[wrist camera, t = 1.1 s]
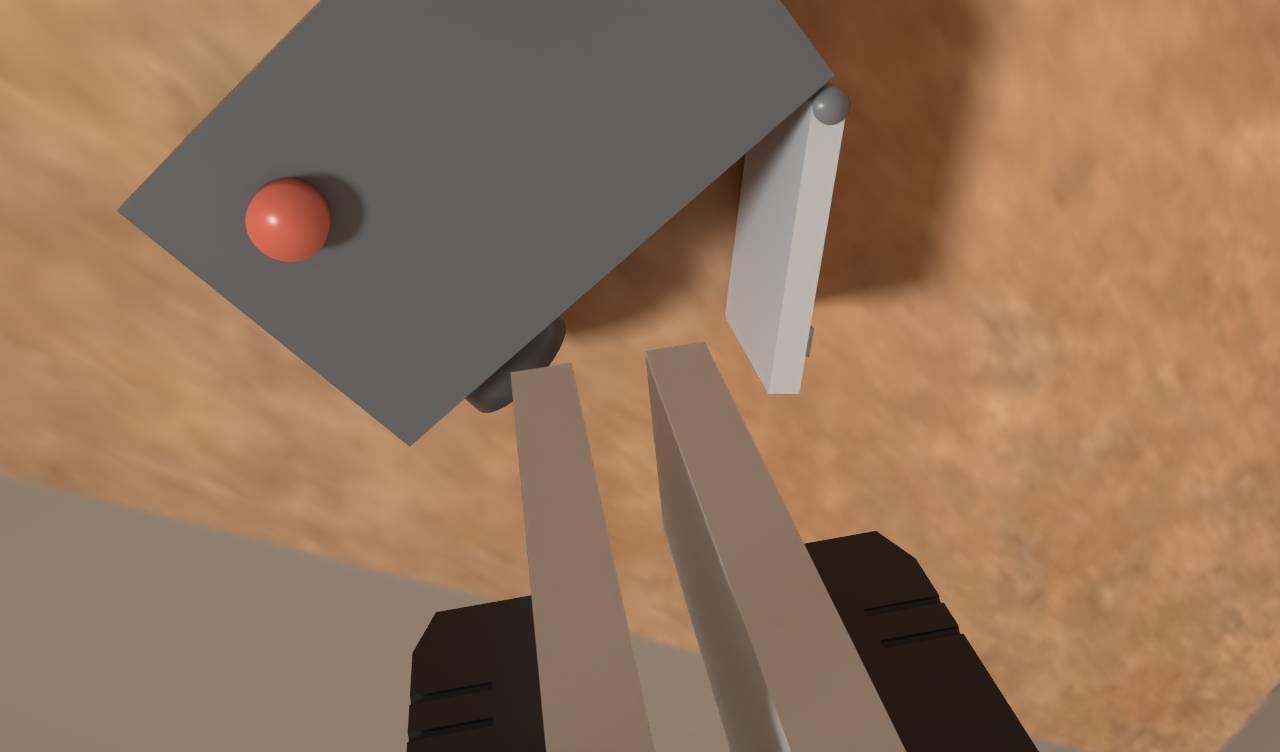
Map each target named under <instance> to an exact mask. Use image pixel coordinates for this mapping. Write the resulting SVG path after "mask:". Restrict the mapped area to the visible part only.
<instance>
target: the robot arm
mask: <svg viewBox="0 0 1280 752" xmlns="http://www.w3.org/2000/svg"><path fill="white" fill-rule="evenodd" d="M645 355H646V365H647V375H648V384H649V394H650V403H651V413H652V423H653V432H654V442H655V451H656V461H657V471H658V480H659V490H660V499H661V509H662V519H663V528H664V531H665V535H666V538H667V542H668V545H669V548H670V552H671V555H672V558H673V562H674V565H675V568H676V572H677V575H678V579H679V582H680V585H681V589H682V592H683V595H684V599H685V602H686V605H687V609H688V612H689V616H690V619H691V622H692V626H693V629H694V632H695V636H696V639H697V642H698V646H699V649H700V653H701V656H702V659H703V662H704V666H705V669H706V672H707V676H708V679H709V683H710V686H711V689H712V693H713V696H714V700H715V703H716V706H717V710H718V713H719V716H720V720H721V723H722V726H723V730H724V733H725V737H726V740H727V743H728V747H729V750H730V752H1039V751H1038V750H1037V748H1036V746H1035V745H1034V743H1033V742H1032V740H1031V739H1030V737H1029V735H1028V734H1027V732H1026V731H1025V729H1024V728H1023V726H1022V725H1021V723H1020V721H1019V720H1018V718H1017V717H1016V715H1015V714H1014V712H1013V710H1012V709H1011V707H1010V706H1009V704H1008V703H1007V701H1006V699H1005V698H1004V696H1003V695H1002V693H1001V692H1000V690H999V689H998V687H997V685H996V684H995V682H994V681H993V679H992V678H991V676H990V674H989V673H988V671H987V670H986V668H985V667H984V665H983V663H982V662H981V660H980V659H979V657H978V656H977V654H976V652H975V651H974V649H973V648H972V646H971V645H970V643H969V642H968V640H967V638H966V637H965V635H964V634H960V632H959V627H958V624H957V623H956V621H955V620H954V618H953V616H952V615H951V613H950V612H949V610H948V609H947V607H946V605H945V604H944V603H941V602H940V599H939V595H938V593H937V591H936V590H935V588H934V587H933V585H932V584H931V582H930V580H929V579H928V577H927V576H926V574H925V573H924V571H923V569H922V568H921V566H920V565H919V563H918V562H917V560H916V559H915V558H914V557H912V556H911V555H910V554H908V553H907V552H905V551H904V550H903V549H901V548H900V547H898V546H897V545H895V544H894V543H893V542H891V541H890V540H888V539H887V538H885V537H884V536H883V535H881V534H880V533H878V532H877V531H873V532H868V533H862V534H856V535H851V536H845V537H839V538H834V539H828V540H822V541H817V542H811V543H805V544H804V543H803V541H802V539H801V537H800V535H799V533H798V531H797V529H796V527H795V525H794V522H793V520H792V518H791V516H790V514H789V512H788V510H787V508H786V506H785V504H784V502H783V500H782V498H781V496H780V494H779V492H778V490H777V488H776V486H775V484H774V482H773V480H772V478H771V476H770V474H769V472H768V470H767V468H766V466H765V464H764V462H763V459H762V457H761V455H760V453H759V451H758V449H757V447H756V445H755V443H754V441H753V439H752V437H751V435H750V433H749V431H748V429H747V427H746V425H745V423H744V421H743V419H742V417H741V415H740V413H739V411H738V409H737V407H736V405H735V403H734V401H733V399H732V396H731V394H730V392H729V390H728V388H727V386H726V384H725V382H724V380H723V378H722V376H721V374H720V372H719V370H718V368H717V366H716V364H715V362H714V360H713V358H712V356H711V354H710V352H709V350H708V348H707V346H706V344H705V342H701V343H695V344H689V345H682V346H676V347H669V348H663V349H657V350H650V351H645ZM510 373H511V384H512V394H513V405H514V416H515V426H516V437H517V447H518V458H519V469H520V479H521V490H522V500H523V511H524V522H525V532H526V543H527V554H528V564H529V575H530V585H531V596H525V597H519V598H514V599H508V600H503V601H497V602H491V603H486V604H480V605H474V606H469V607H463V608H458V609H452V610H446V611H441V612H436V613H435V615H434V617H433V618H432V620H431V622H430V624H429V625H428V627H427V629H426V631H425V632H424V634H423V636H422V637H421V639H420V641H419V643H418V644H417V646H416V648H415V650H414V651H413V654H412V673H411V688H410V689H411V690H410V699H411V705H410V706H409V722H408V736H409V742H407V752H655V750H654V745H653V741H652V736H651V732H650V727H649V722H648V718H647V713H646V708H645V703H644V699H643V695H642V690H641V685H640V680H639V676H638V671H637V666H636V661H635V657H634V652H633V647H632V643H631V638H630V633H629V629H628V624H627V619H626V615H625V610H624V605H623V601H622V596H621V591H620V587H619V582H618V577H617V573H616V568H615V563H614V559H613V554H612V549H611V545H610V540H609V535H608V531H607V526H606V521H605V517H604V512H603V507H602V503H601V498H600V493H599V489H598V484H597V479H596V475H595V470H594V465H593V461H592V456H591V451H590V447H589V442H588V437H587V433H586V428H585V423H584V419H583V414H582V409H581V405H580V400H579V395H578V391H577V386H576V381H575V377H574V372H573V367H572V363H567V364H561V365H555V366H548V367H542V368H535V369H529V370H523V371H516V372H510Z"/></svg>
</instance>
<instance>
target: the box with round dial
mask: <svg viewBox="0 0 1280 752" xmlns="http://www.w3.org/2000/svg"><path fill="white" fill-rule="evenodd" d="M834 76H835V74H834V73H833V71H832V70H831V69H830V67H829V66H828V65H827V63H826V62H825V61H824V59H823V58H822V56H821V55H820V54H819V52H818V51H817V50H816V48H815V47H814V46H813V44H812V43H811V41H810V40H809V39H808V37H807V36H806V35H805V33H804V32H803V31H802V29H801V28H800V26H799V25H798V24H797V22H796V21H795V20H794V18H793V17H792V16H791V14H790V13H789V11H788V10H787V9H786V7H785V6H784V5H783V3H782V2H781V1H780V0H320V1H319V2H318V3H317V4H316V5H315V6H314V7H313V8H312V9H311V10H310V11H309V13H308V14H307V15H306V16H305V17H304V18H303V19H302V20H301V21H300V22H299V23H298V24H297V25H296V26H295V27H294V28H293V29H292V30H291V31H290V32H289V33H288V34H287V35H286V36H285V37H284V38H283V39H282V40H281V41H280V42H279V43H278V44H277V45H276V46H275V47H274V48H273V49H272V50H271V51H270V52H269V53H268V54H267V55H266V56H265V57H264V58H263V59H262V60H261V61H260V62H259V63H258V65H257V66H256V67H255V68H254V69H253V70H252V71H251V72H250V73H249V74H248V75H247V76H246V77H245V78H244V79H243V80H242V81H241V82H240V83H239V84H238V85H237V86H236V87H235V88H234V89H233V90H232V91H231V92H230V93H229V94H228V95H227V96H226V97H225V98H224V99H223V100H222V101H221V102H220V103H219V104H218V105H217V106H216V107H215V108H214V109H213V110H212V111H211V112H210V113H209V114H208V115H207V117H206V118H205V119H204V120H203V121H202V122H201V123H200V124H199V125H198V126H197V127H196V128H195V129H194V130H193V131H192V132H191V133H190V134H189V135H188V136H187V137H186V138H185V139H184V140H183V141H182V142H181V143H180V144H179V145H178V146H177V147H176V148H175V149H174V151H173V152H172V153H171V154H170V155H169V156H168V157H167V158H166V159H165V160H164V161H163V162H162V163H161V164H160V165H159V166H158V167H157V168H156V170H155V171H154V172H153V173H152V174H151V175H150V176H149V177H148V178H147V179H146V180H145V181H144V182H143V183H142V184H141V185H140V186H139V188H138V189H137V190H136V191H135V192H134V193H133V194H132V195H131V196H130V197H129V198H128V199H127V200H126V201H125V202H124V203H123V204H122V206H121V207H120V208H119V209H118V210H117V211H118V212H119V213H120V214H121V215H123V216H124V217H125V218H126V219H128V220H129V221H130V222H131V223H132V224H134V225H135V226H136V227H137V228H139V229H140V230H141V231H142V232H144V233H145V234H146V235H147V236H149V237H150V238H151V239H152V240H154V241H155V242H156V243H157V244H159V245H160V246H161V247H162V248H164V249H165V250H166V251H167V252H169V253H170V254H171V255H172V256H174V257H175V258H176V259H177V260H178V261H180V262H181V263H182V264H183V265H185V266H186V267H187V268H188V269H190V270H191V271H192V272H193V273H195V274H196V275H197V276H198V277H200V278H201V279H202V280H203V281H205V282H206V283H207V284H208V285H210V286H211V287H212V288H213V289H215V290H216V291H217V292H218V293H219V294H221V295H222V296H223V297H224V298H226V299H227V300H228V301H229V302H231V303H232V304H233V305H234V306H236V307H237V308H238V309H239V310H241V311H242V312H243V313H244V314H246V315H247V316H248V317H249V318H251V319H252V320H253V321H254V322H256V323H257V324H258V325H259V326H261V327H262V328H263V329H264V330H265V331H267V332H268V333H269V334H270V335H272V336H273V337H274V338H275V339H277V340H278V341H279V342H280V343H282V344H283V345H284V346H285V347H287V348H288V349H289V350H290V351H292V352H293V353H294V354H295V355H297V356H298V357H299V358H300V359H302V360H303V361H304V362H305V363H306V364H308V365H309V366H310V367H311V368H313V369H314V370H315V371H316V372H318V373H319V374H320V375H321V376H323V377H324V378H325V379H326V380H328V381H329V382H330V383H331V384H333V385H334V386H335V387H336V388H338V389H339V390H340V391H341V392H343V393H344V394H345V395H346V396H347V397H349V398H350V399H351V400H352V401H354V402H355V403H356V404H357V405H359V406H360V407H361V408H362V409H364V410H365V411H366V412H367V413H369V414H370V415H371V416H372V417H374V418H375V419H376V420H377V421H379V422H380V423H381V424H382V425H384V426H385V427H386V428H387V429H389V430H390V431H391V432H392V433H393V434H395V435H396V436H397V437H398V438H400V439H401V440H402V441H403V442H405V443H406V444H407V445H408V446H411V445H412V444H413V443H414V442H415V441H417V440H418V439H419V438H420V437H421V436H422V435H423V434H425V433H426V432H427V431H428V430H429V429H430V428H431V427H433V426H434V425H435V424H436V423H437V422H438V421H439V420H441V419H442V418H443V417H444V416H445V415H446V414H447V413H449V412H450V411H451V410H452V409H453V408H454V407H456V406H457V405H458V404H459V403H460V402H461V401H462V400H464V399H466V400H467V401H468V402H470V403H471V404H472V405H473V406H474V407H475V408H477V409H478V410H479V411H480V412H483V413H490V412H494V411H497V410H499V409H501V408H503V407H505V406H507V405H508V404H510V403H511V402H513V394H512V384H511V373H510V372H516V371H523V370H529V369H535V368H542V367H548V366H549V365H550V363H551V362H552V361H553V359H554V357H555V356H556V354H557V352H558V351H559V349H560V347H561V345H562V342H563V339H564V336H565V331H566V325H565V322H564V321H563V320H562V319H561V318H560V317H559V316H560V315H561V314H562V313H563V312H564V311H566V310H567V309H568V308H569V307H570V306H571V305H572V304H574V303H575V302H576V301H577V300H578V299H579V298H580V297H582V296H583V295H584V294H585V293H586V292H587V291H588V290H590V289H591V288H592V287H593V286H594V285H595V284H596V283H598V282H599V281H600V280H601V279H602V278H603V277H604V276H606V275H607V274H608V273H609V272H610V271H611V270H613V269H614V268H615V267H616V266H617V265H618V264H619V263H621V262H622V261H623V260H624V259H625V258H626V257H627V256H629V255H630V254H631V253H632V252H633V251H634V250H635V249H637V248H638V247H639V246H640V245H641V244H642V243H643V242H645V241H646V240H647V239H648V238H649V237H650V236H651V235H653V234H654V233H655V232H656V231H657V230H658V229H660V228H661V227H662V226H663V225H664V224H665V223H666V222H668V221H669V220H670V219H671V218H672V217H673V216H674V215H676V214H677V213H678V212H679V211H680V210H681V209H682V208H684V207H685V206H686V205H687V204H688V203H689V202H690V201H692V200H693V199H694V198H695V197H696V196H697V195H698V194H700V193H701V192H702V191H703V190H704V189H705V188H706V187H708V186H709V185H710V184H711V183H712V182H713V181H715V180H716V179H717V178H718V177H719V176H720V175H721V174H723V173H724V172H725V171H726V170H727V169H728V168H729V167H731V166H732V165H733V164H734V163H735V162H736V161H737V160H739V159H740V158H741V157H742V156H743V155H744V154H745V153H747V152H748V151H749V150H750V149H751V148H752V147H753V146H755V145H756V144H757V143H758V142H759V141H760V140H762V139H763V138H764V137H765V136H766V135H767V134H768V133H770V132H771V131H772V130H773V129H774V128H775V127H776V126H778V125H779V124H780V123H781V122H782V121H783V120H784V119H786V118H787V117H788V116H789V115H790V114H791V113H792V112H794V111H795V110H796V109H797V108H798V107H799V106H800V105H802V104H803V103H804V102H805V101H806V100H807V99H809V98H810V97H811V96H812V95H813V94H814V93H815V92H817V91H818V90H819V89H820V88H821V87H822V86H823V85H825V84H826V83H827V82H828V81H829V80H830V79H831V78H833V77H834Z"/></svg>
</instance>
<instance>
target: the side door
mask: <svg viewBox="0 0 1280 752" xmlns="http://www.w3.org/2000/svg"><path fill="white" fill-rule="evenodd" d="M849 109H850V100H849V97H848V96H847V94H846V93H845V92H844V91H842V90H841V89H839V88H838V87H836V86H835V85H833V84H831V83H830V82H827V83H826V84H825V85H823V86H822V87H821V88H820V89H819V90H818V91H817V92H815V93H814V94H813V95H812V96H811V97H810V98H809V99H807V100H806V101H805V102H804V103H803V104H802V105H800V106H799V107H798V108H797V109H796V110H795V111H794V112H792V113H791V114H790V115H789V116H788V117H787V118H786V119H784V120H783V121H782V122H781V123H780V124H779V125H778V126H776V127H775V128H774V129H773V130H772V131H771V132H770V133H768V134H767V135H766V136H765V137H764V138H763V139H762V140H760V141H759V142H758V143H757V144H756V145H755V146H753V147H752V148H751V149H750V150H749V151H748V152H747V153H746V154H745V162H744V170H743V178H742V186H741V193H740V201H739V209H738V217H737V225H736V233H735V241H734V249H733V257H732V265H731V273H730V281H729V289H728V297H727V305H726V313H725V317H726V319H727V321H728V322H729V324H730V326H731V328H732V330H733V331H734V333H735V335H736V337H737V338H738V340H739V342H740V344H741V346H742V347H743V349H744V351H745V353H746V354H747V356H748V358H749V360H750V362H751V363H752V365H753V367H754V369H755V370H756V372H757V374H758V376H759V378H760V379H761V381H762V383H763V385H764V386H765V388H766V390H767V392H768V394H799V391H800V385H801V379H802V373H803V367H804V361H805V357H809V355H810V349H811V343H812V337H813V331H814V328H813V327H812V326H811V319H812V313H813V307H814V302H815V296H816V290H817V284H818V278H819V272H820V266H821V260H822V254H823V248H824V242H825V236H826V230H827V224H828V218H829V212H830V206H831V200H832V194H833V188H834V182H835V177H836V171H837V165H838V159H839V153H840V147H841V141H842V135H843V129H844V123H845V117H846V116H847V114H848V112H849Z"/></svg>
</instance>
